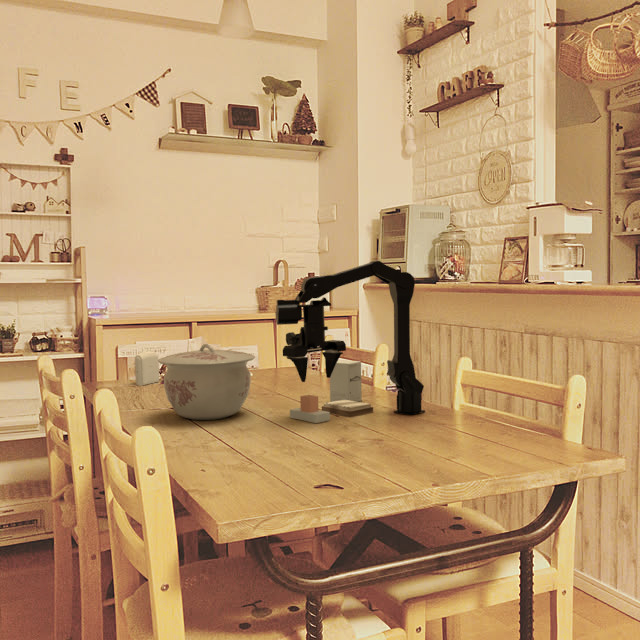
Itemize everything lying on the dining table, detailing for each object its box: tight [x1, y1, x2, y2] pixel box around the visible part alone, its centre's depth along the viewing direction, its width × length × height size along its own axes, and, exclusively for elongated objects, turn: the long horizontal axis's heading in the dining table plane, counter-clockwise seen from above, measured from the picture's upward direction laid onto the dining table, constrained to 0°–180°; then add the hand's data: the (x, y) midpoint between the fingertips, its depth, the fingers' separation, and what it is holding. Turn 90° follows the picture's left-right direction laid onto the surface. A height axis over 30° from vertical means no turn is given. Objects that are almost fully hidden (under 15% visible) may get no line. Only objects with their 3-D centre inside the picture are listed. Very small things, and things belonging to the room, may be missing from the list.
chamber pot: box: [158, 343, 256, 421], centre depth 196 cm, size 28×28×21 cm
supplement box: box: [329, 359, 362, 402], centre depth 213 cm, size 7×7×13 cm
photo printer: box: [134, 350, 160, 387], centre depth 260 cm, size 10×4×12 cm, turn 152°
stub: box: [289, 394, 331, 424], centre depth 187 cm, size 11×5×6 cm, turn 42°
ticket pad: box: [321, 400, 374, 418], centre depth 197 cm, size 12×9×2 cm
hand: (316, 379), depth 188 cm, fingers open, 9 cm apart
